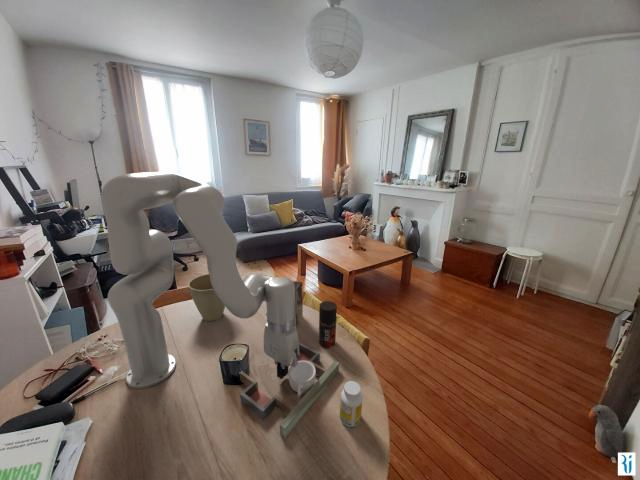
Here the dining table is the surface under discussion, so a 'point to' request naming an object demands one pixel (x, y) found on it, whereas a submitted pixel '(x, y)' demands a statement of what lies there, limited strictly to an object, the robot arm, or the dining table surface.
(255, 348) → the dining table surface
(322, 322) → the deodorant
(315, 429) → the dining table surface
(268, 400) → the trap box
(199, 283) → the plant pot
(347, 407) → the supplement bottle
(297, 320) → the coffee box
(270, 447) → the dining table surface
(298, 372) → the teacup
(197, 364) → the dining table surface
